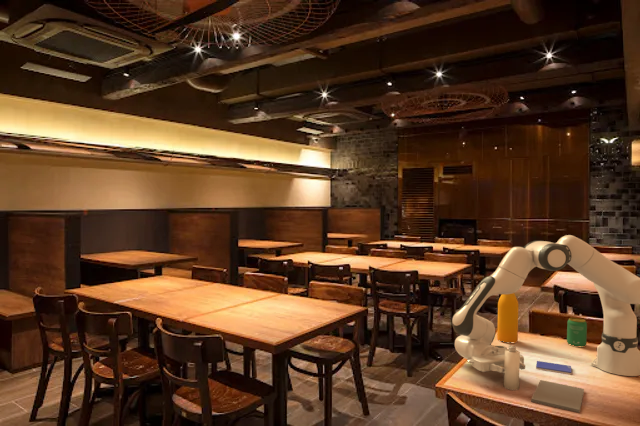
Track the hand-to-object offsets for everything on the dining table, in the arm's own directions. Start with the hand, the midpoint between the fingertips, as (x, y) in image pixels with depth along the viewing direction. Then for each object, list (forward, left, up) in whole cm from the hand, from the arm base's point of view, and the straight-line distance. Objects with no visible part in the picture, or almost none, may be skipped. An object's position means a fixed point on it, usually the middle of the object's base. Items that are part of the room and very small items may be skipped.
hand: (513, 368), depth 163 cm
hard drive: (-31, +9, -8) cm, 33 cm away
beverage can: (-72, +15, -7) cm, 74 cm away
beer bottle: (-59, -14, -7) cm, 61 cm away
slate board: (-1, +14, -7) cm, 16 cm away
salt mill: (0, -1, -7) cm, 7 cm away
